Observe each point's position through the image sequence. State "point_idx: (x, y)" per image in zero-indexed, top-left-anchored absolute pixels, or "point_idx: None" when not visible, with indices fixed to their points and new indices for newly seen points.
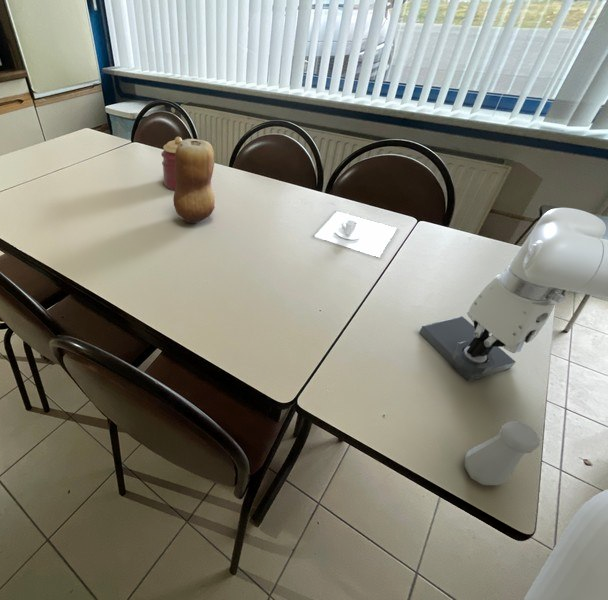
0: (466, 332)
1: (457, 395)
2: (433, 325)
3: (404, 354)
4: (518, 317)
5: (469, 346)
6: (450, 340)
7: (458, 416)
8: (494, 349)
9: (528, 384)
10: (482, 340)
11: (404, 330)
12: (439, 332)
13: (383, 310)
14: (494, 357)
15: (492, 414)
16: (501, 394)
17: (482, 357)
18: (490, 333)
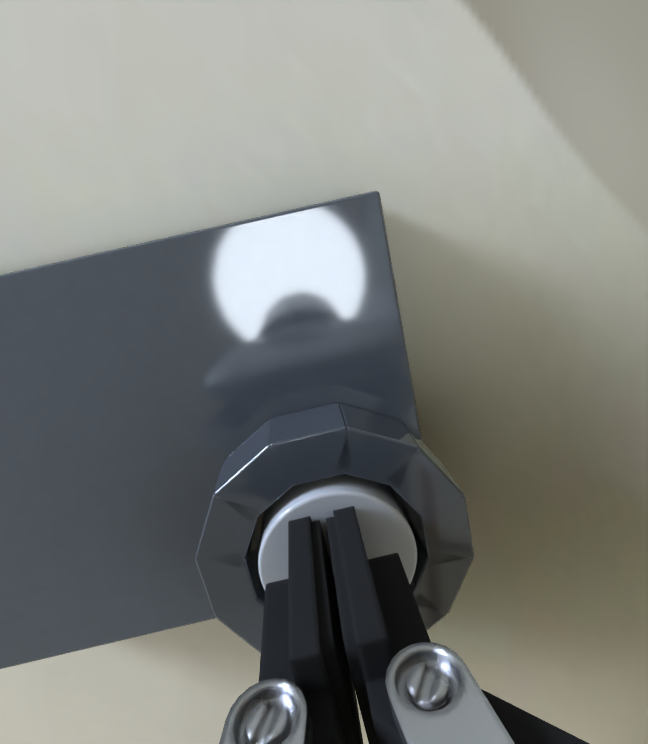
0: (43, 399)
1: (494, 610)
2: None
3: (218, 737)
4: None
5: (261, 570)
6: (143, 559)
7: (593, 655)
8: (240, 286)
9: (501, 166)
10: (354, 739)
11: (22, 681)
12: (59, 593)
13: None
14: (322, 341)
15: (623, 511)
16: (533, 393)
17: (382, 538)
18: (306, 722)
